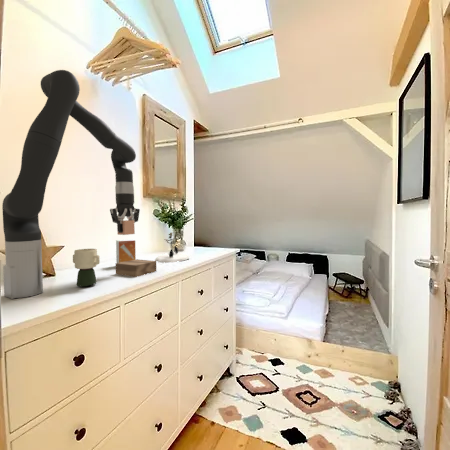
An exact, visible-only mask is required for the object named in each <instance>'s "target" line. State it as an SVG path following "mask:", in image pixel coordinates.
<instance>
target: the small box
mask: <svg viewBox="0 0 450 450" xmlns="http://www.w3.org/2000/svg"><path fill="white" fill-rule="evenodd" d="M115 245H116V249H115V250H116V251H115V252H116V253H115V256H116V259H115V260H116V261H115V262H116V263H120V262H126V261H131V260H136V259H137V258H136V240H135V239H117V240H115Z"/></svg>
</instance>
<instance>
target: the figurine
mask: <svg viewBox="0 0 450 450" xmlns="http://www.w3.org/2000/svg"><path fill="white" fill-rule="evenodd" d="M172 237H173V232H169V233H168V239H166V238H165V239H164V241H165V242H166V243H167V244H170V245H171V246H170V247H173V245H175V246H174V249H173V248H171V249H170V251H169V252H168V253H164V254H163V253H162V254H160V255H158V256H157V257H156V258H155V259H154V261H156V262H159V263H178V262H177V261H179V262H183V261H186V260H189V259H190V256H189V254H188V253H182V252H179V248H178V247H177V245H176V239H177V236H174V238H172Z"/></svg>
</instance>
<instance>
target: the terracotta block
mask: <svg viewBox="0 0 450 450" xmlns="http://www.w3.org/2000/svg"><path fill="white" fill-rule="evenodd" d="M122 224H123V233H119V232H118V230H117V229H116V231H117V235H120V236H121V235H122V236H127V235H128V236H129V235H135V234H136V233H135V223H134V220H128V219H127V220H123V223H122Z"/></svg>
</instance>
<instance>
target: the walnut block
mask: <svg viewBox="0 0 450 450" xmlns="http://www.w3.org/2000/svg"><path fill="white" fill-rule="evenodd" d="M155 271H156V272H157V261H155V260H148V259H137V258H136V260H131V261H126V262H120V263H117V262H116V263H115V275H121V276H124V277H125V276H126V277H127V276H128V277H134V278H137V276H138V277H141V276H144V274H145V275H148V274H147V273H149V274H152V273H155ZM151 272H152V273H151Z"/></svg>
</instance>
